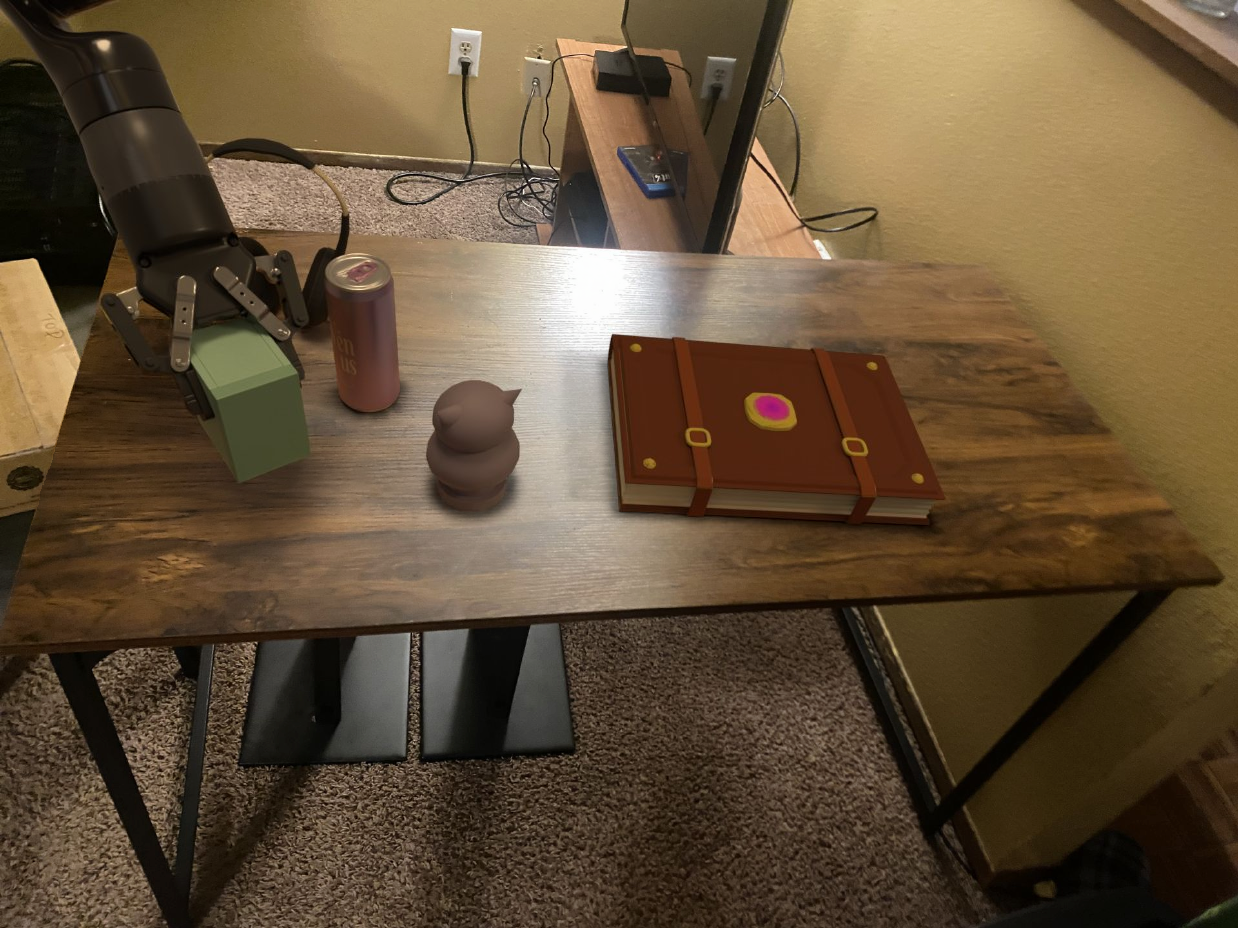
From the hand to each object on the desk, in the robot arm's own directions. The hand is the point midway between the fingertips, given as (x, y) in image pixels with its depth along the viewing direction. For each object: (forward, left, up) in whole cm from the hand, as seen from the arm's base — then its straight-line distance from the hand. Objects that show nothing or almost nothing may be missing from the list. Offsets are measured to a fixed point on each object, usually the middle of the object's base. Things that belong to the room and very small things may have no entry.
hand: (253, 403), depth 64 cm
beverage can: (+12, +12, -13) cm, 21 cm away
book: (+47, -8, -13) cm, 50 cm away
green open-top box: (0, +2, -5) cm, 6 cm away
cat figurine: (+17, -3, -13) cm, 22 cm away
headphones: (+8, +27, -13) cm, 31 cm away
